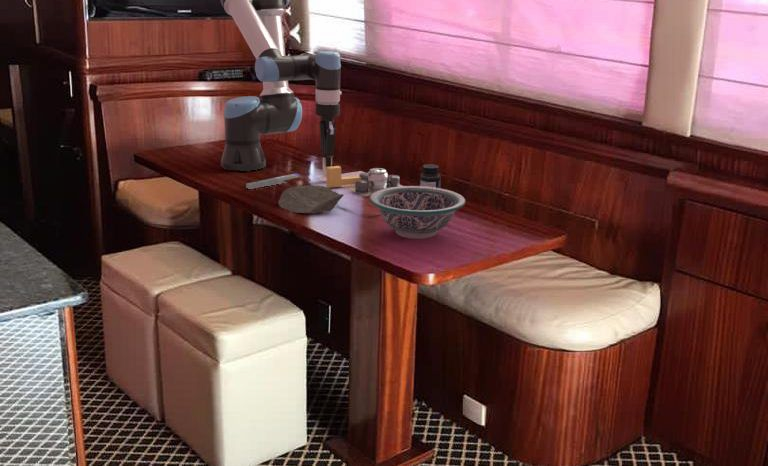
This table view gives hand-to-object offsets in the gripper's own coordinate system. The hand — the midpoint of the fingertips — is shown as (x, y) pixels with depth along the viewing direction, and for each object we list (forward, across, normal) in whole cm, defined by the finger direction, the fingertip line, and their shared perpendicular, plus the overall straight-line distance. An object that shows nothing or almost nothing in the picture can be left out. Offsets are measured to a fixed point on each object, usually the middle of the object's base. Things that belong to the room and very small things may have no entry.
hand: (327, 176), depth 269 cm
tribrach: (+2, -5, -10) cm, 12 cm away
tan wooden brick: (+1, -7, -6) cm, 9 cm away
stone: (+3, -25, +11) cm, 27 cm away
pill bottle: (+2, -27, -25) cm, 37 cm away
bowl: (+2, -54, -12) cm, 56 cm away
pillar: (+3, +3, +17) cm, 17 cm away
